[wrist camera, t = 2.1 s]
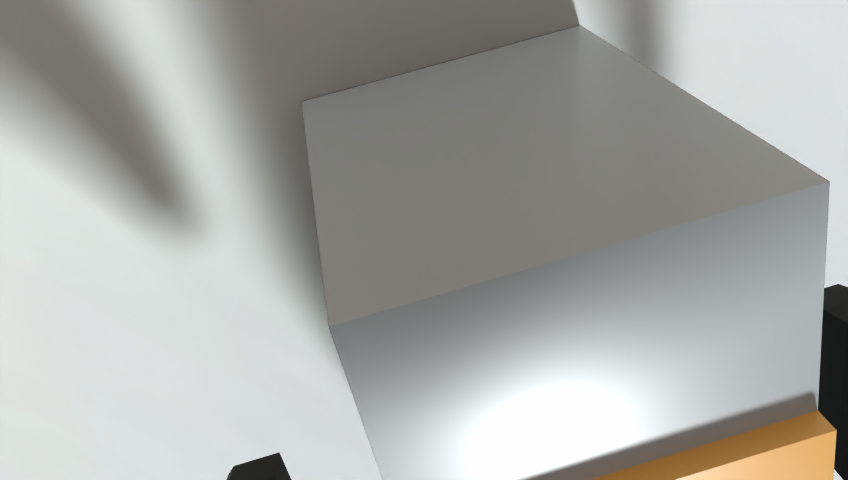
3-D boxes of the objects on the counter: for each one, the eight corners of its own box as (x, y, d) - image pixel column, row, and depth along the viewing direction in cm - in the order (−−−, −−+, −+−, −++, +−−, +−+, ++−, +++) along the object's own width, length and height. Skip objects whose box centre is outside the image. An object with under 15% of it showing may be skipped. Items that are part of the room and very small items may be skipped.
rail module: (580, 25, 12) (852, 195, 6) (626, 419, 16) (815, 731, 10) (301, 102, 12) (331, 348, 6) (421, 481, 16) (504, 832, 10)
